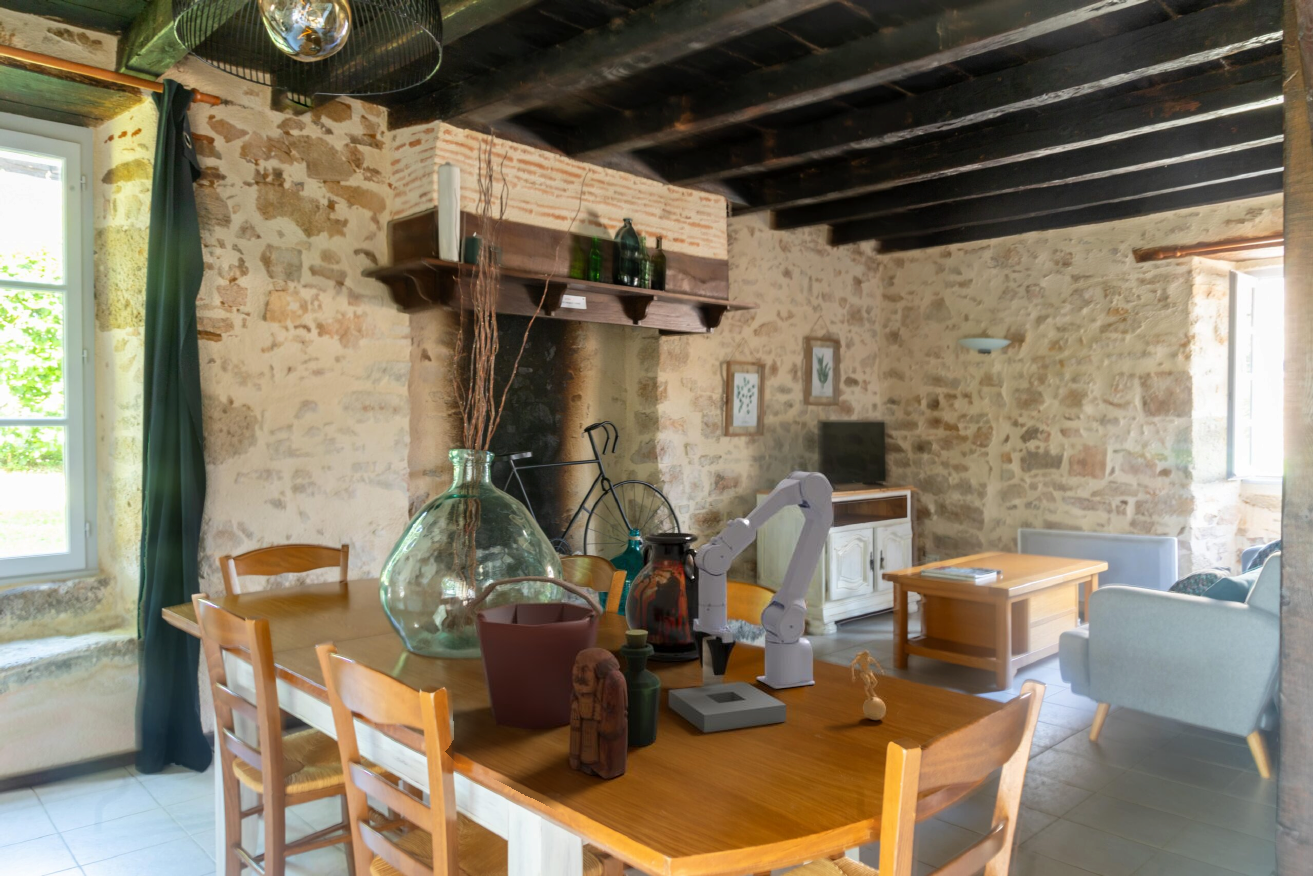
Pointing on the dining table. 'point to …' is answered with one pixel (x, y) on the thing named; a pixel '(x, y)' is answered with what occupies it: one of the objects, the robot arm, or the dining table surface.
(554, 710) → the bucket
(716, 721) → the socket block
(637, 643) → the potion bottle
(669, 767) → the dining table surface
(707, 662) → the birch dowel
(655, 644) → the amphora vase
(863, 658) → the figurine
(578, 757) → the wooden figurine
